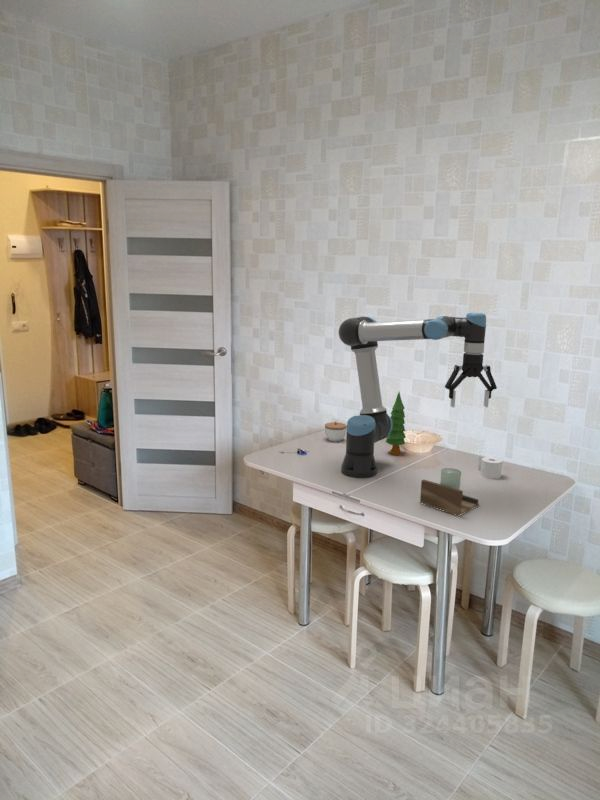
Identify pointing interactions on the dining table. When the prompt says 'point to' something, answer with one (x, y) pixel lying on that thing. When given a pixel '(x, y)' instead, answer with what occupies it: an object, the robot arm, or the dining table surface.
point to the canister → (451, 478)
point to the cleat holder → (446, 498)
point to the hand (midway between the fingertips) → (469, 406)
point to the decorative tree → (397, 427)
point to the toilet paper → (490, 467)
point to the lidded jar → (335, 431)
